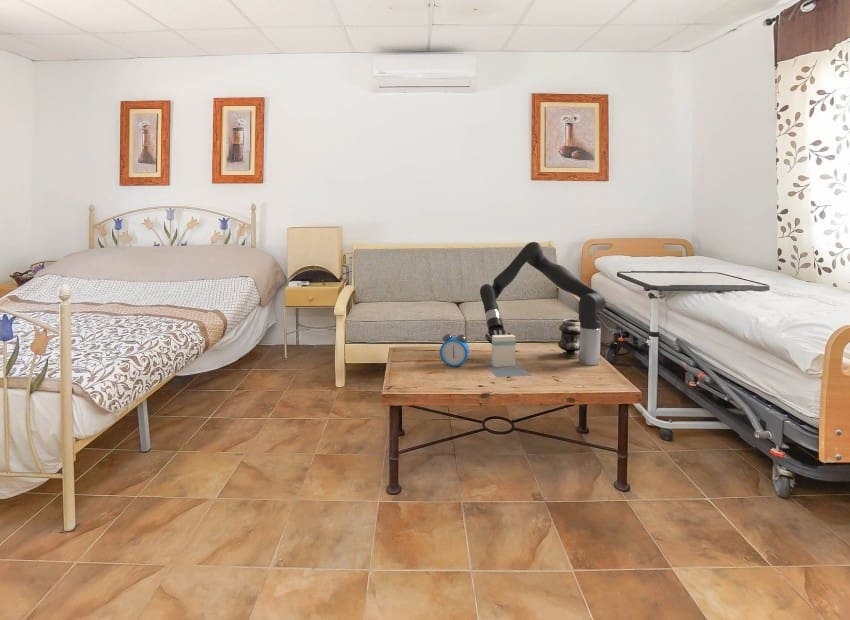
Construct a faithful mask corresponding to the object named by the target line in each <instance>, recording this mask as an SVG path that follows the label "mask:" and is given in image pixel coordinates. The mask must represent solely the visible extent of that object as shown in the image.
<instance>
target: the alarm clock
mask: <svg viewBox="0 0 850 620" xmlns="http://www.w3.org/2000/svg"><path fill="white" fill-rule="evenodd" d="M441 341H442V342H443V343H442V344H441V346H440V348H439V356H440V359H441V361H442V362H443V363H444V364H445V365H446V367H447V366H448V367H452V368H453V367H454V368H457V367H461V366H462V365H463V364H464V363H465V362H466V361H467V359H468V357H469V355H470V348H469V345H468V343H467V341H468V339H467V337H466V336H465V335H464V334H457V336H456V335H452V334H451V333H446V334H444V335H443V336H442V340H441Z"/></svg>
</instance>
